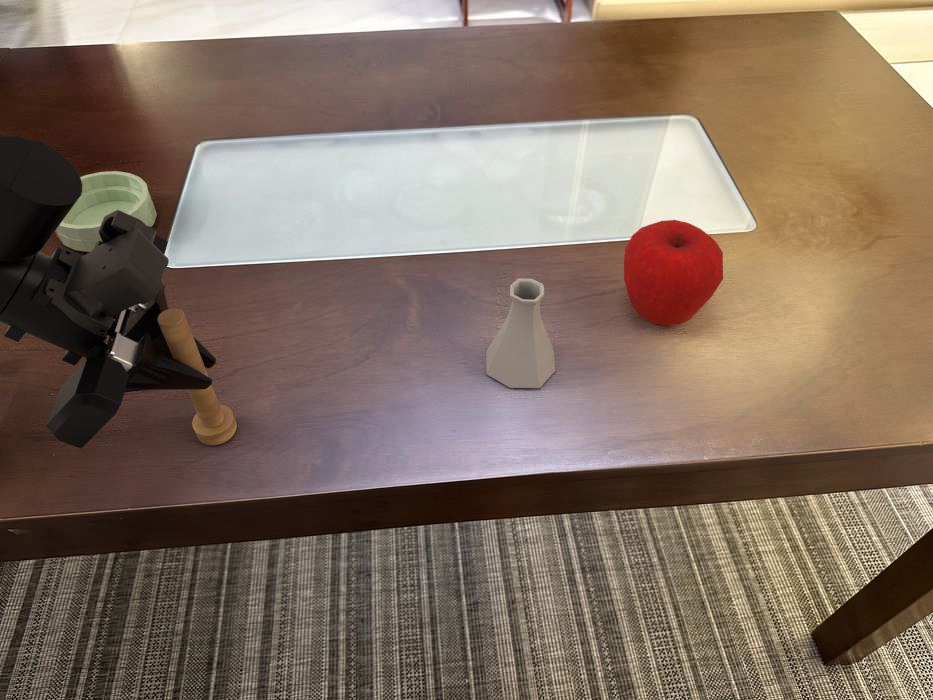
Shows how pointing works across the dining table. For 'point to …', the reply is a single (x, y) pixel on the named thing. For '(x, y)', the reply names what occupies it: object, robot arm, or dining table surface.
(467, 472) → the dining table surface
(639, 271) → the apple
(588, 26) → the dining table surface
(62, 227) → the bowl
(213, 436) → the tan wooden rod
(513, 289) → the flask
